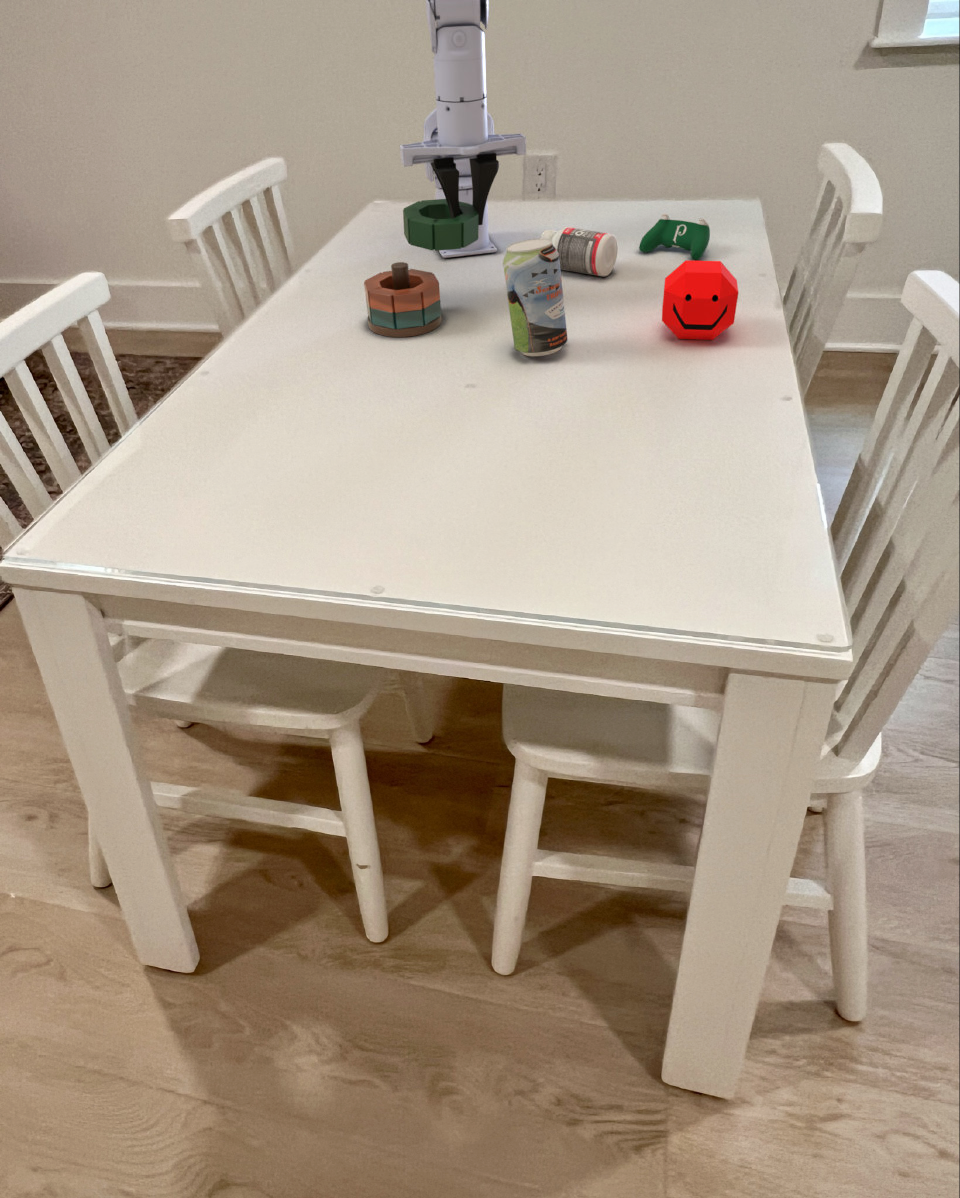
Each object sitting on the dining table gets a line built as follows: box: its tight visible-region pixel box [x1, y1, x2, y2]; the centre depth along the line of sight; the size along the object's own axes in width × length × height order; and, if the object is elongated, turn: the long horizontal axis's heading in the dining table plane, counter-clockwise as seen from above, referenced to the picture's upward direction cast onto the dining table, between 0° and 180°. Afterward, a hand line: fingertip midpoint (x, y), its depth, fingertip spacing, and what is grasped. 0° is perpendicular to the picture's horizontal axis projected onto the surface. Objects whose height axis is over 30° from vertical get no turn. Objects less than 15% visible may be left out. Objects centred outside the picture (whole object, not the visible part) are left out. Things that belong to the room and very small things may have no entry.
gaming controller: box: [638, 213, 711, 261], centre depth 124 cm, size 9×4×6 cm
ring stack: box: [363, 261, 442, 338], centre depth 107 cm, size 9×9×7 cm
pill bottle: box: [539, 226, 619, 277], centre depth 119 cm, size 5×5×10 cm
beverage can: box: [502, 238, 568, 357], centre depth 97 cm, size 6×7×12 cm
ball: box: [661, 259, 739, 341], centre depth 101 cm, size 8×8×8 cm
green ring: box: [402, 199, 479, 252], centre depth 107 cm, size 9×9×3 cm
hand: (466, 224), depth 108 cm, fingers closed on green ring, 2 cm apart
